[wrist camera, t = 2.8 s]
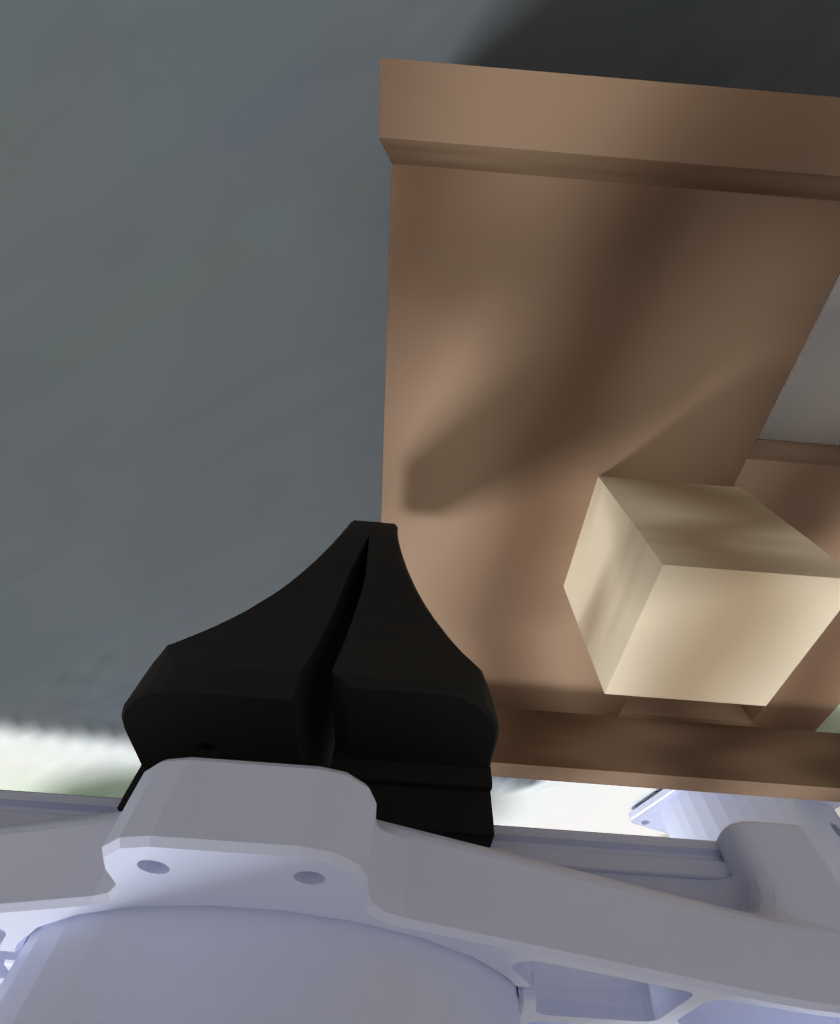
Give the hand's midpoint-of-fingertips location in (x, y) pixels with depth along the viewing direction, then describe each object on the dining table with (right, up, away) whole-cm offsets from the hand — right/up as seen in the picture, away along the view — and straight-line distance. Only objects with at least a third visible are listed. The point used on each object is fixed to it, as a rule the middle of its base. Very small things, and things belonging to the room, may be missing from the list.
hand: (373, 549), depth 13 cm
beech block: (+9, 0, +2) cm, 9 cm away
